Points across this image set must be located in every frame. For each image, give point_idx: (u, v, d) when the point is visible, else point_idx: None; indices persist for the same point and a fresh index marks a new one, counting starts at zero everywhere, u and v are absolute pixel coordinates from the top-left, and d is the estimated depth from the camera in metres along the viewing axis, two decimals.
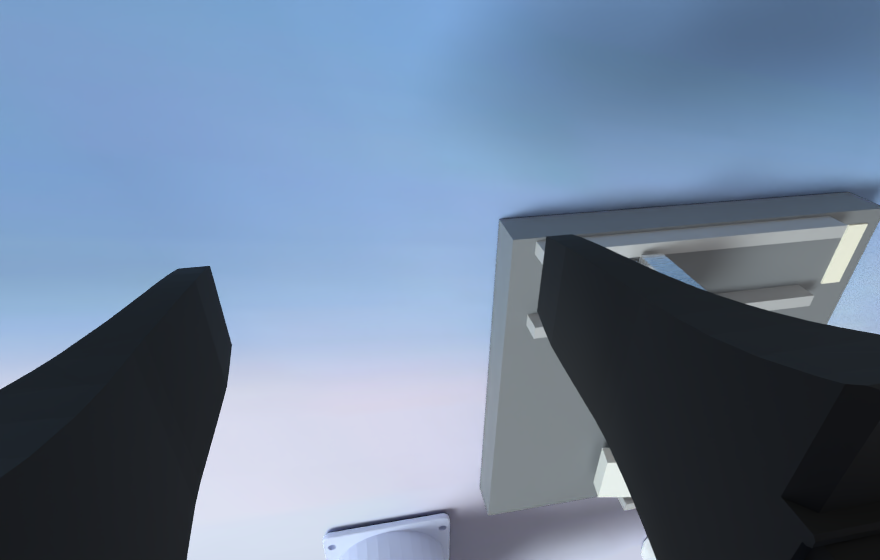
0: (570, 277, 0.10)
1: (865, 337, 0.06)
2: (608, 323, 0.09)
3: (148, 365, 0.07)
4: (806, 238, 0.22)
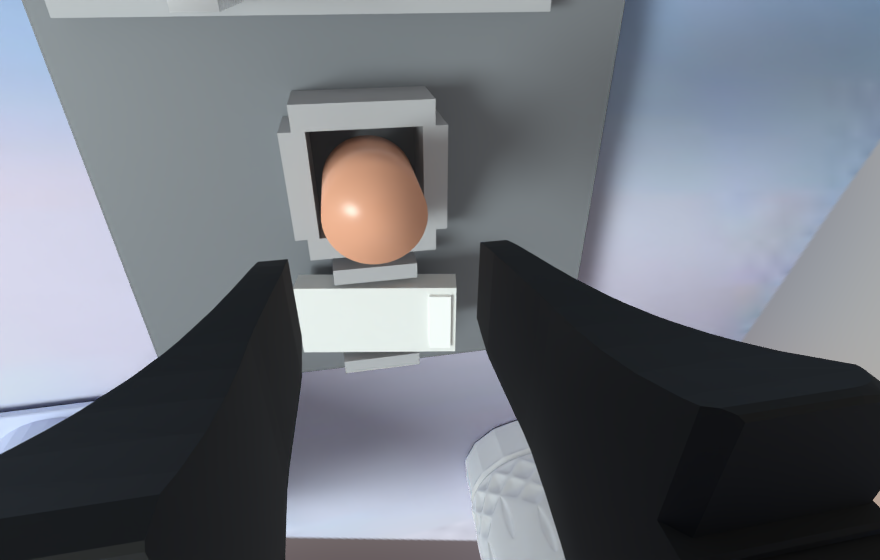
0: (498, 284, 0.10)
1: (755, 352, 0.06)
2: (528, 333, 0.09)
3: (258, 352, 0.07)
4: None
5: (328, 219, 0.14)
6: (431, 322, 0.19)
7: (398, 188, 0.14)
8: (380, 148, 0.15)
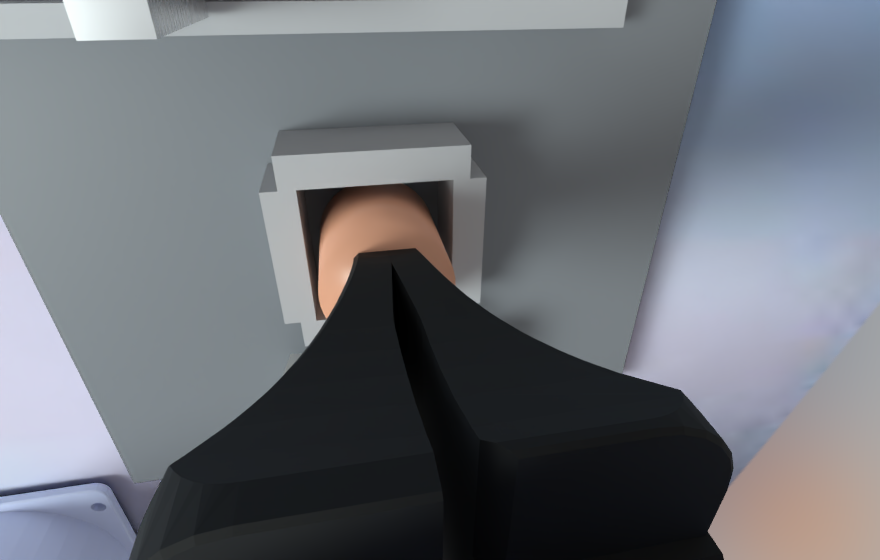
0: (396, 295, 0.10)
1: (594, 374, 0.06)
2: (413, 346, 0.08)
3: None
4: None
5: (328, 295, 0.11)
6: None
7: None
8: (394, 198, 0.12)
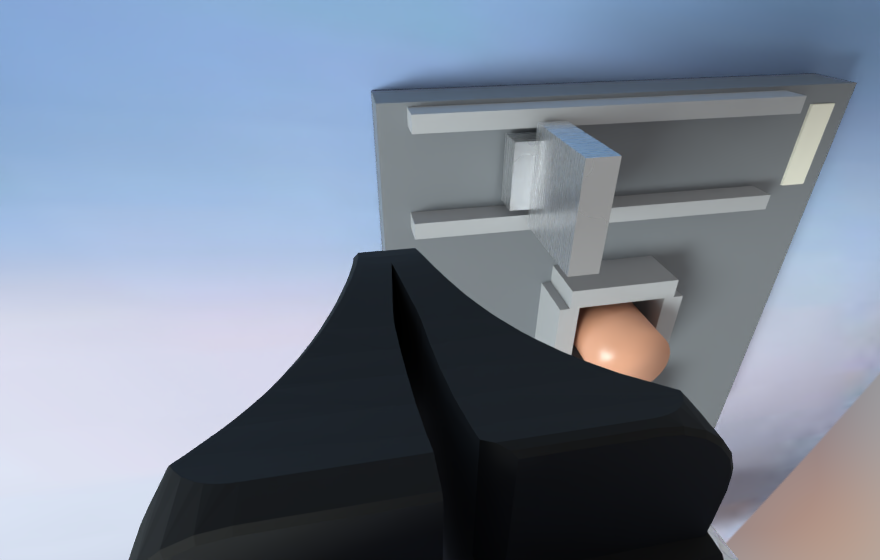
0: (396, 295, 0.10)
1: (594, 374, 0.06)
2: (413, 346, 0.08)
3: None
4: (754, 112, 0.18)
5: (602, 366, 0.19)
6: None
7: (654, 344, 0.19)
8: (627, 306, 0.20)
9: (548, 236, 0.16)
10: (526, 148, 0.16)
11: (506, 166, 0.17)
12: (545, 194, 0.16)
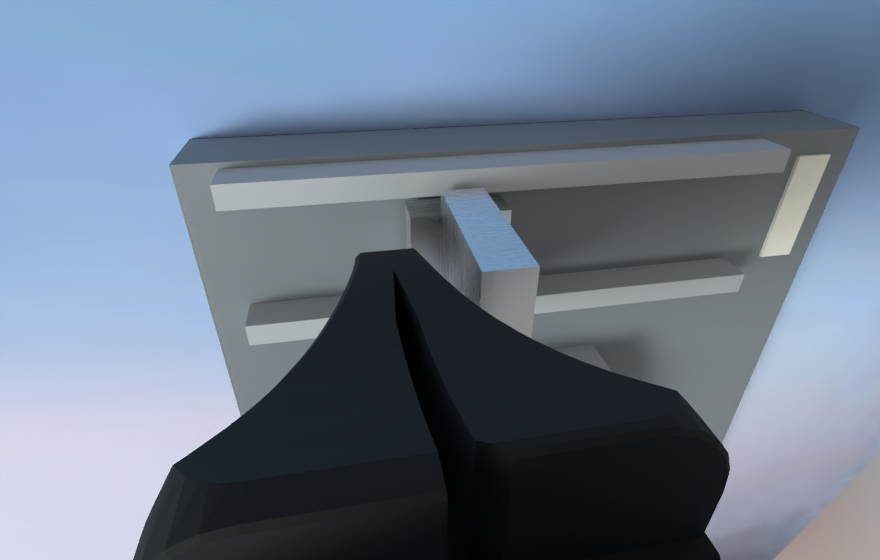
0: (394, 295, 0.10)
1: (591, 374, 0.06)
2: (411, 347, 0.08)
3: None
4: (719, 172, 0.13)
5: None
6: None
7: None
8: None
9: None
10: (428, 225, 0.12)
11: (407, 244, 0.13)
12: None
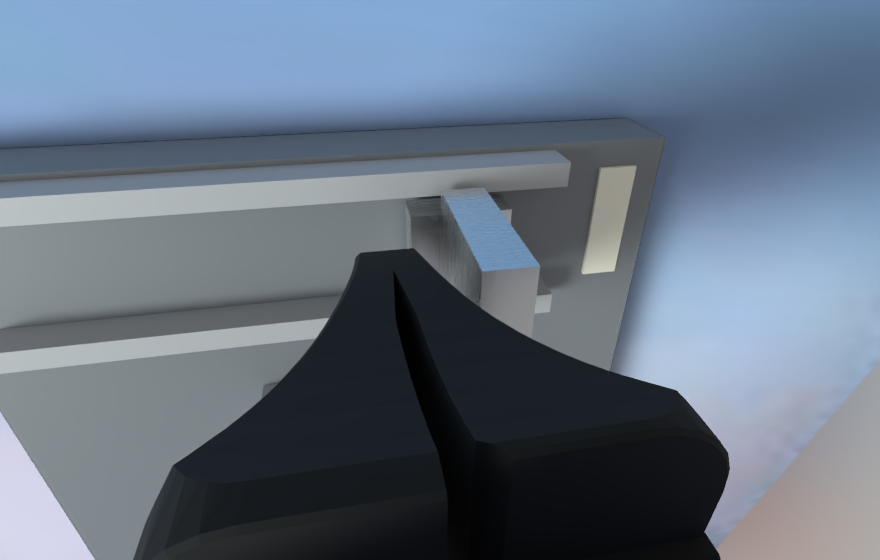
0: (394, 295, 0.10)
1: (591, 375, 0.06)
2: (411, 347, 0.08)
3: None
4: (492, 187, 0.12)
5: None
6: None
7: None
8: None
9: None
10: (428, 225, 0.12)
11: (407, 244, 0.13)
12: None
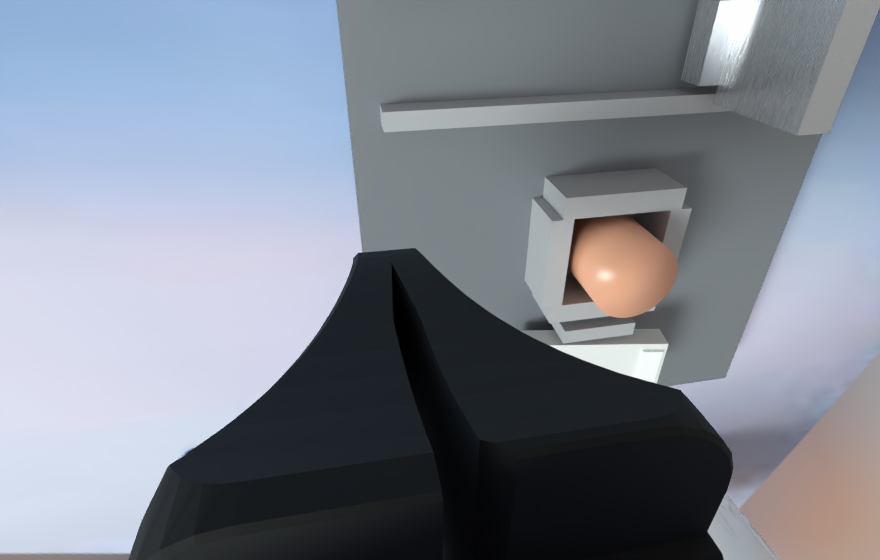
0: (396, 295, 0.10)
1: (594, 374, 0.06)
2: (413, 346, 0.08)
3: None
4: None
5: (600, 284, 0.17)
6: (640, 373, 0.21)
7: (660, 258, 0.17)
8: (629, 220, 0.18)
9: (759, 101, 0.15)
10: (730, 9, 0.15)
11: (697, 36, 0.16)
12: (756, 55, 0.15)
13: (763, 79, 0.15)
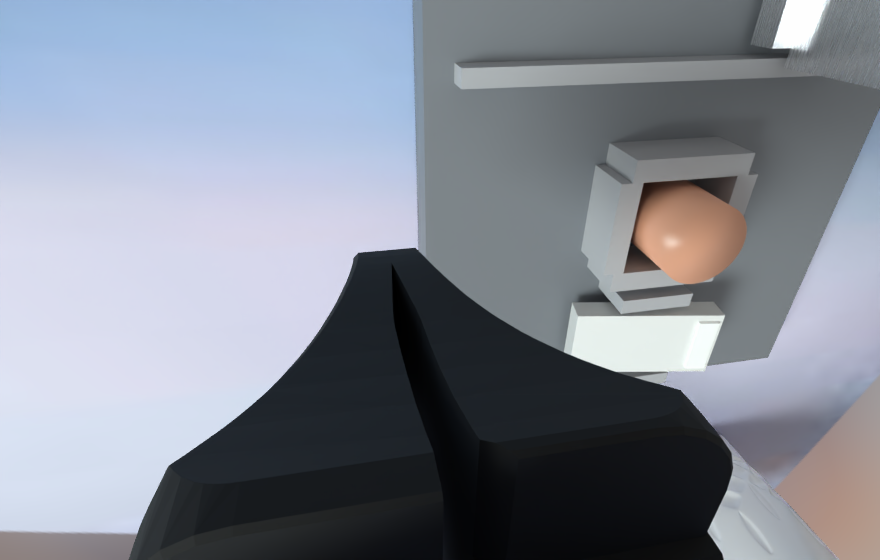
0: (396, 295, 0.10)
1: (594, 374, 0.06)
2: (413, 346, 0.08)
3: None
4: None
5: (670, 247, 0.17)
6: (694, 345, 0.21)
7: (730, 222, 0.17)
8: (695, 186, 0.18)
9: (839, 60, 0.15)
10: None
11: None
12: (837, 14, 0.15)
13: (845, 37, 0.15)
